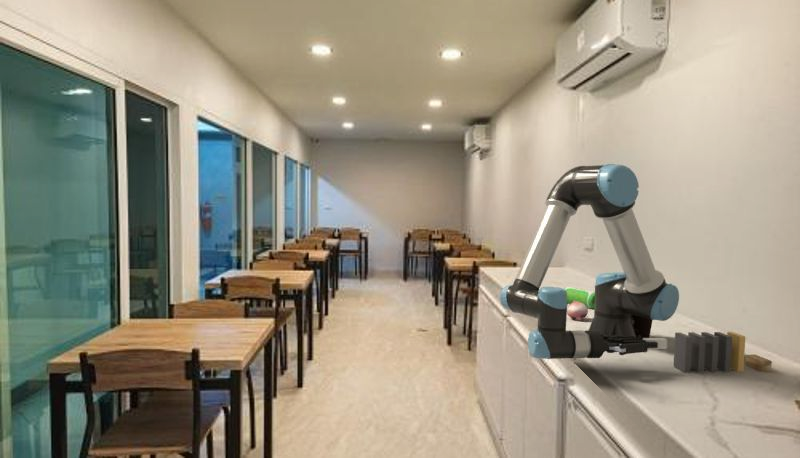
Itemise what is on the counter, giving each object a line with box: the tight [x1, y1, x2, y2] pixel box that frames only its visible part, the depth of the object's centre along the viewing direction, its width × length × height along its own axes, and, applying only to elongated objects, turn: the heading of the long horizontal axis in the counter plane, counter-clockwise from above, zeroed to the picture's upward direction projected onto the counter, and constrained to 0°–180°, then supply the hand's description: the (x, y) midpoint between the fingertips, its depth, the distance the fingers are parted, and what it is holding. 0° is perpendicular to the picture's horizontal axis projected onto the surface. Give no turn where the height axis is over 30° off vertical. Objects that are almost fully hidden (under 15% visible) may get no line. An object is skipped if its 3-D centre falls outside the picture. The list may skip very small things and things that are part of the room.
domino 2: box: [687, 331, 705, 373], centre depth 148 cm, size 2×5×10 cm, turn 6°
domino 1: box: [673, 332, 692, 374], centre depth 148 cm, size 2×5×10 cm, turn 6°
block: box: [744, 354, 773, 373], centre depth 150 cm, size 3×6×3 cm, turn 6°
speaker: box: [563, 286, 595, 310], centre depth 233 cm, size 18×7×8 cm, turn 29°
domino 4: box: [713, 331, 732, 373], centre depth 149 cm, size 2×5×10 cm, turn 6°
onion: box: [567, 301, 589, 321], centre depth 207 cm, size 8×8×7 cm
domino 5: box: [726, 331, 746, 373], centre depth 149 cm, size 2×5×10 cm, turn 6°
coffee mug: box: [631, 314, 653, 339], centre depth 183 cm, size 12×9×10 cm
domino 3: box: [700, 331, 719, 373], centre depth 148 cm, size 2×5×10 cm, turn 6°
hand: (665, 343), depth 147 cm, fingers closed
